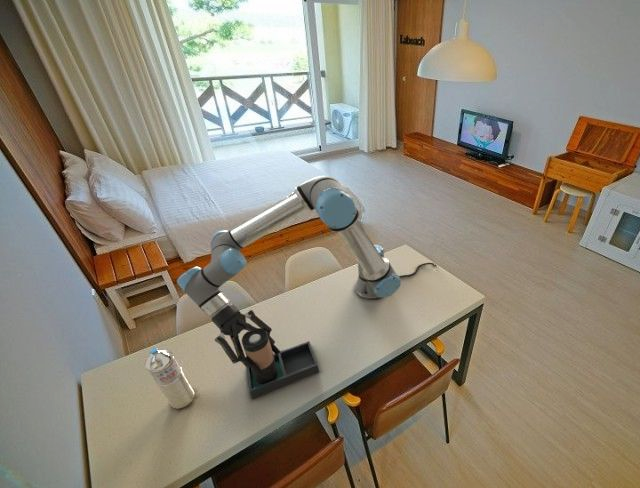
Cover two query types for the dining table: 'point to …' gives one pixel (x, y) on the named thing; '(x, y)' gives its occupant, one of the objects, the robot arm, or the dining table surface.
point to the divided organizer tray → (286, 369)
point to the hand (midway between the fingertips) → (269, 362)
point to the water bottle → (170, 378)
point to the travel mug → (260, 354)
